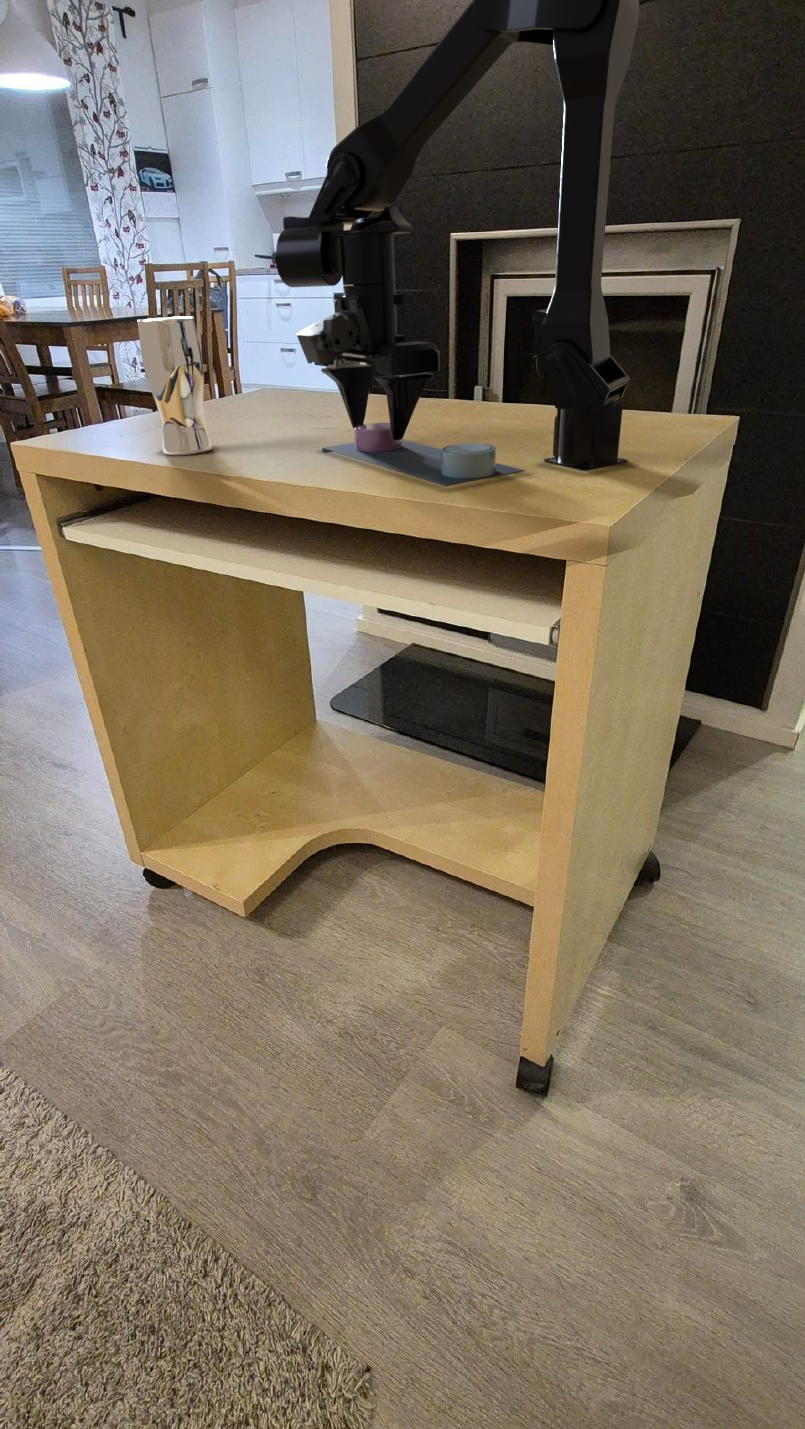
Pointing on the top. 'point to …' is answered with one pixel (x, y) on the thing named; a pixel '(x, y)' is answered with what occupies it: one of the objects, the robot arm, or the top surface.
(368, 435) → the purple puck
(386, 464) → the placemat
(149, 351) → the beer glass
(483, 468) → the grey-blue puck
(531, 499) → the top surface
